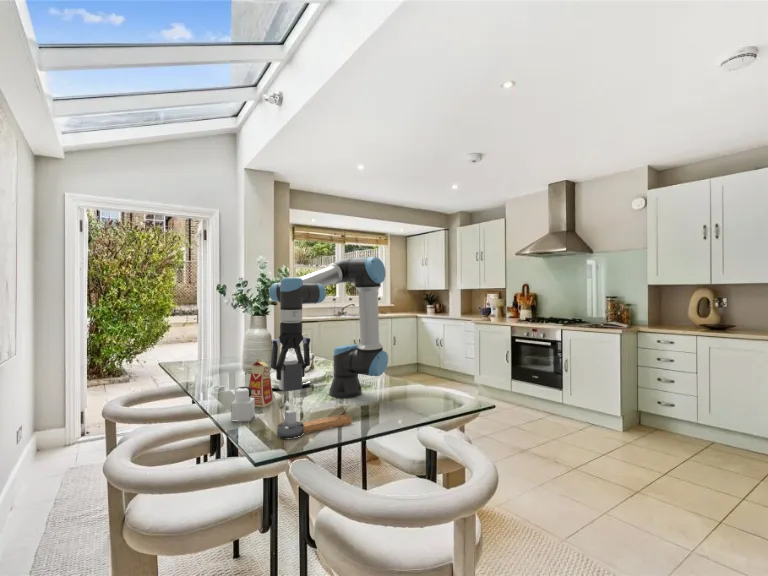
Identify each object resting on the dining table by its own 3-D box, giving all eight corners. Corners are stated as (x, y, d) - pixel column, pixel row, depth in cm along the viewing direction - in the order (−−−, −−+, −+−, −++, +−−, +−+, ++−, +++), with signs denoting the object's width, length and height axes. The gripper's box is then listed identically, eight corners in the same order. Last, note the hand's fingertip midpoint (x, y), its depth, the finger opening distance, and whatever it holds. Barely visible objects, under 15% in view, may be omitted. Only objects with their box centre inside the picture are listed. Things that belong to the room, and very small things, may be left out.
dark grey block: (295, 385, 145) (295, 360, 145) (301, 389, 140) (302, 363, 140) (279, 387, 142) (279, 362, 142) (285, 391, 137) (285, 365, 137)
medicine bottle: (236, 415, 160) (236, 385, 160) (254, 415, 161) (254, 385, 161) (230, 421, 153) (231, 390, 153) (250, 421, 154) (250, 390, 154)
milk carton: (264, 407, 171) (264, 360, 171) (244, 405, 173) (244, 359, 173) (274, 401, 180) (274, 356, 180) (255, 399, 182) (255, 355, 182)
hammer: (343, 418, 158) (343, 398, 158) (354, 425, 150) (354, 404, 150) (273, 432, 143) (273, 409, 143) (282, 441, 135) (282, 417, 135)
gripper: (267, 323, 133) (266, 394, 133) (320, 321, 143) (320, 386, 143) (260, 321, 139) (260, 389, 139) (312, 319, 149) (311, 382, 150)
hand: (290, 387), depth 141 cm, fingers closed on dark grey block, 6 cm apart
